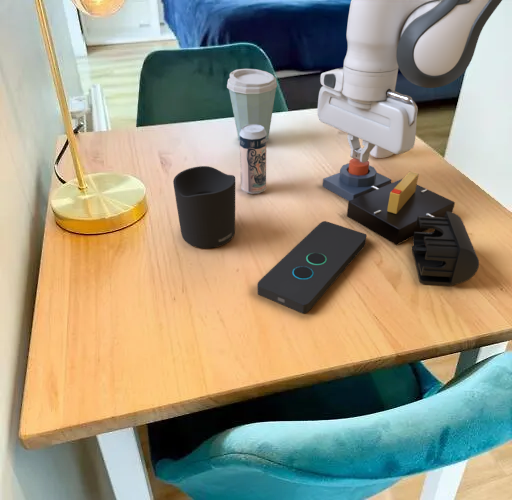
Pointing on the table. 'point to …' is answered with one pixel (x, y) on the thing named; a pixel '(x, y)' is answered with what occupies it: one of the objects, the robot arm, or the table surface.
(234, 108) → the disposable coffee cup
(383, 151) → the eye dropper bottle
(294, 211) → the table surface
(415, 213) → the rotary switch
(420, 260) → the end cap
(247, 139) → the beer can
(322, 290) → the smart home device
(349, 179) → the button box
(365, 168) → the button
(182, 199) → the pen holder
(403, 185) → the rotary switch knob
